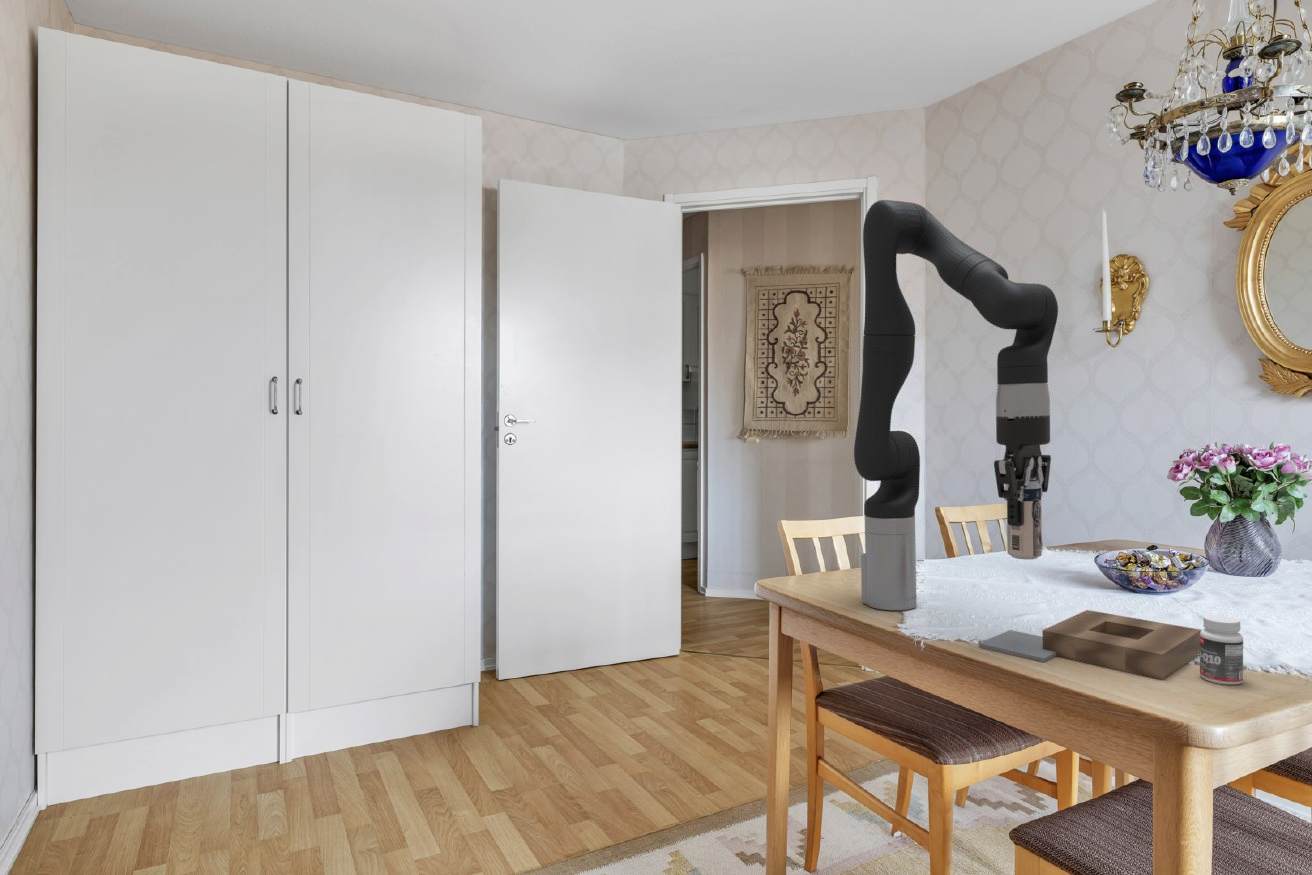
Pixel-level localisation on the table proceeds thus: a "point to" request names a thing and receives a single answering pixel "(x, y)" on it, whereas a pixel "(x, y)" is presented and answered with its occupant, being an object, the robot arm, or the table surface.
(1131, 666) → the block
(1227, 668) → the pill bottle
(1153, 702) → the table surface
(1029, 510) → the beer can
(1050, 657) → the mat
